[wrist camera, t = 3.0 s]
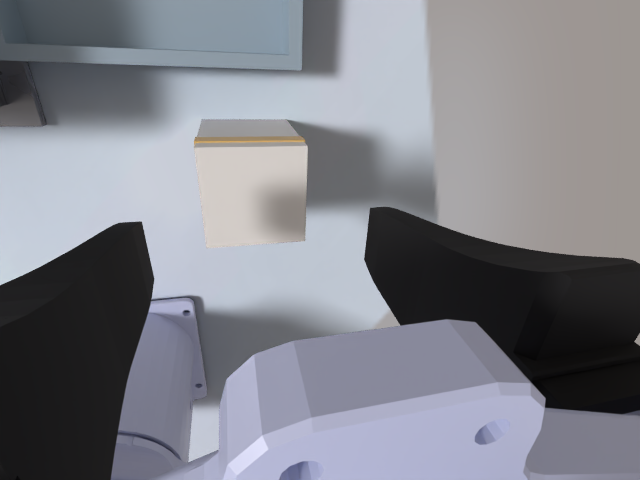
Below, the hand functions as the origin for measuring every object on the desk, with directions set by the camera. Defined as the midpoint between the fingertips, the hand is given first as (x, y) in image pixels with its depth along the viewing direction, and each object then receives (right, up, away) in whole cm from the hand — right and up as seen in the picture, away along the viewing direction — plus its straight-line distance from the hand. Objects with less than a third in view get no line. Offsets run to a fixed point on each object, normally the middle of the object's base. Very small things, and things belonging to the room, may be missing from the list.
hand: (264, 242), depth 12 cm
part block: (-2, +5, +9) cm, 10 cm away
